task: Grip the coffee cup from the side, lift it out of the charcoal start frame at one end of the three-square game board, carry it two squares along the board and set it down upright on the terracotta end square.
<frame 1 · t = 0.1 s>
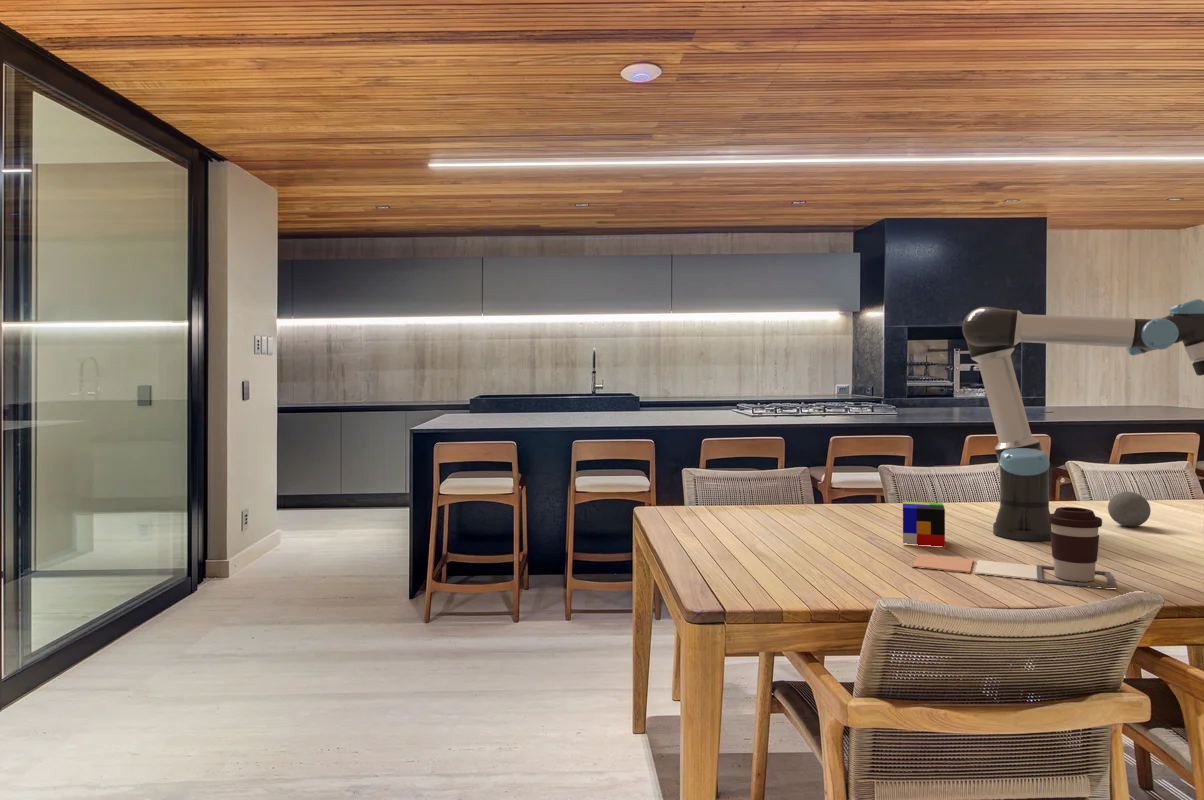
decorative ball: (1128, 527, 212), on the table
game board: (1006, 571, 167), on the table
puzzle toy: (923, 543, 196), on the table
coffee cup: (1074, 578, 160), resting in game board
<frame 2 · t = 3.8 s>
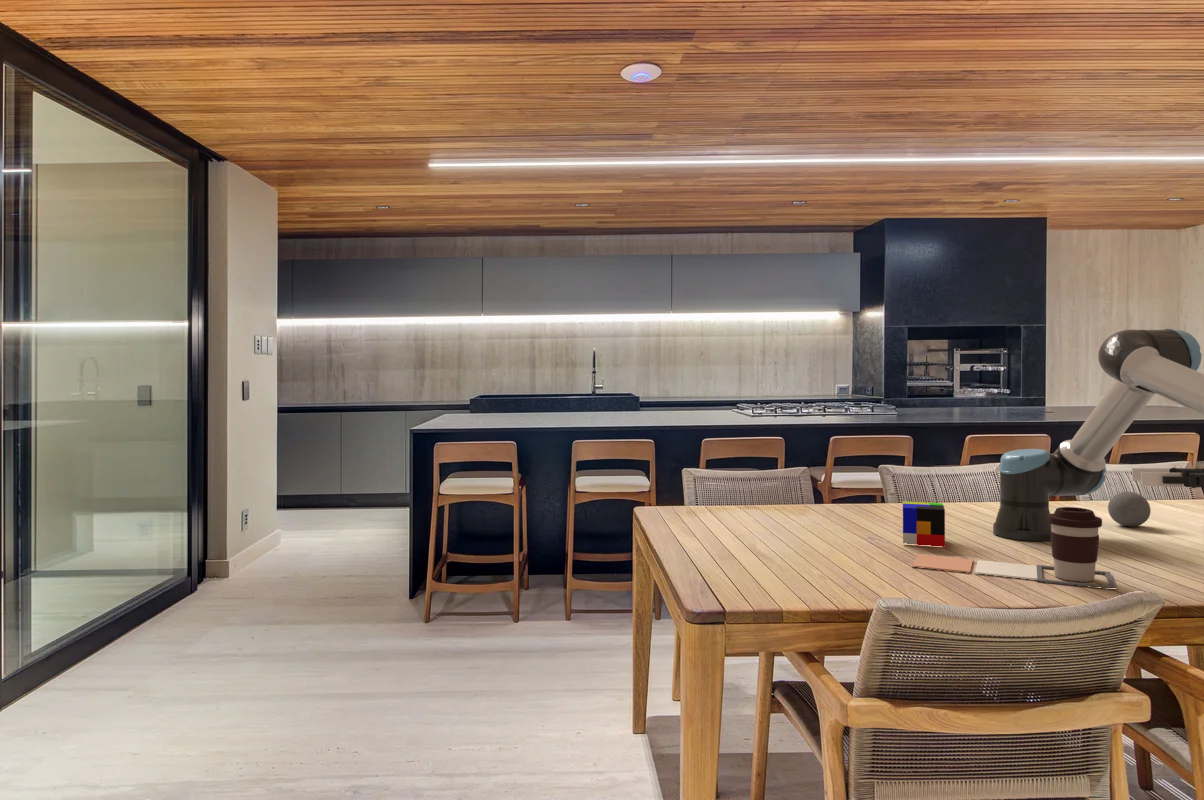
hand: (1136, 476, 156), 22 cm above the table, tool horizontal, fingers open, 13 cm apart
nothing on the table moved.
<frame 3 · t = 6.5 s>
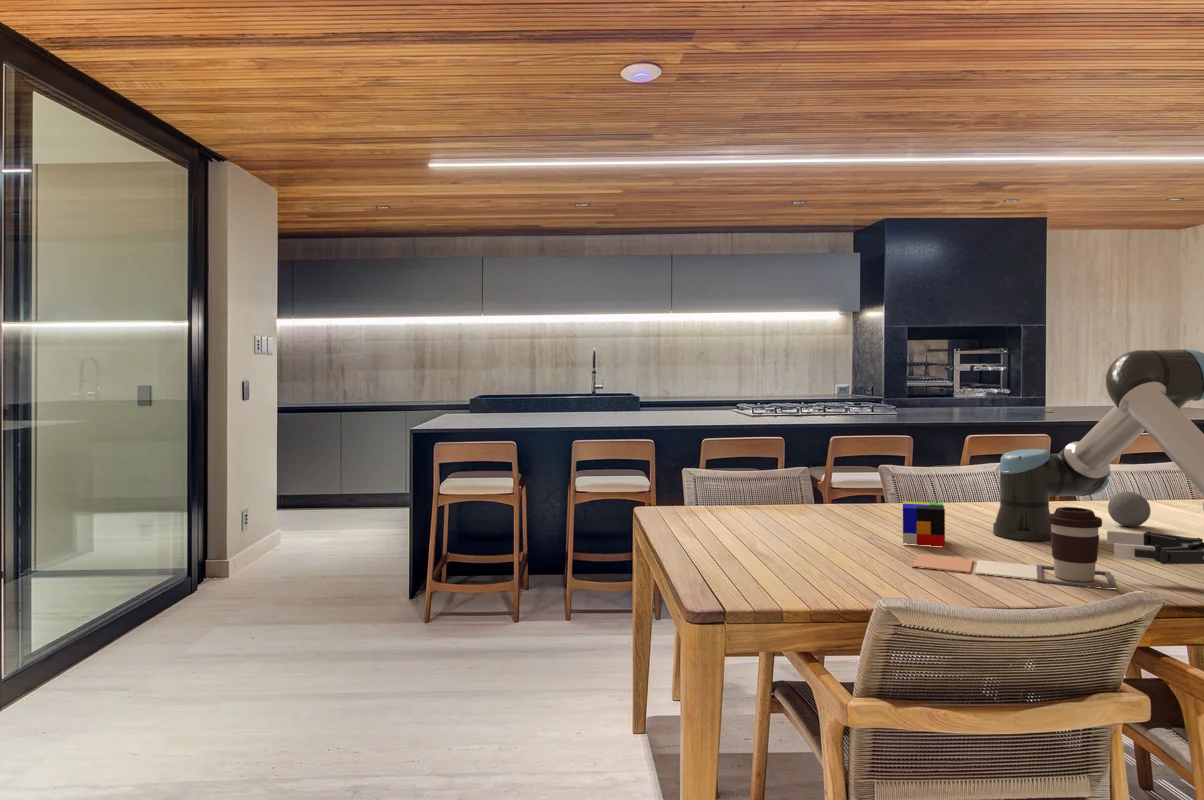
hand: (1110, 543, 156), 8 cm above the table, tool horizontal, fingers open, 13 cm apart
nothing on the table moved.
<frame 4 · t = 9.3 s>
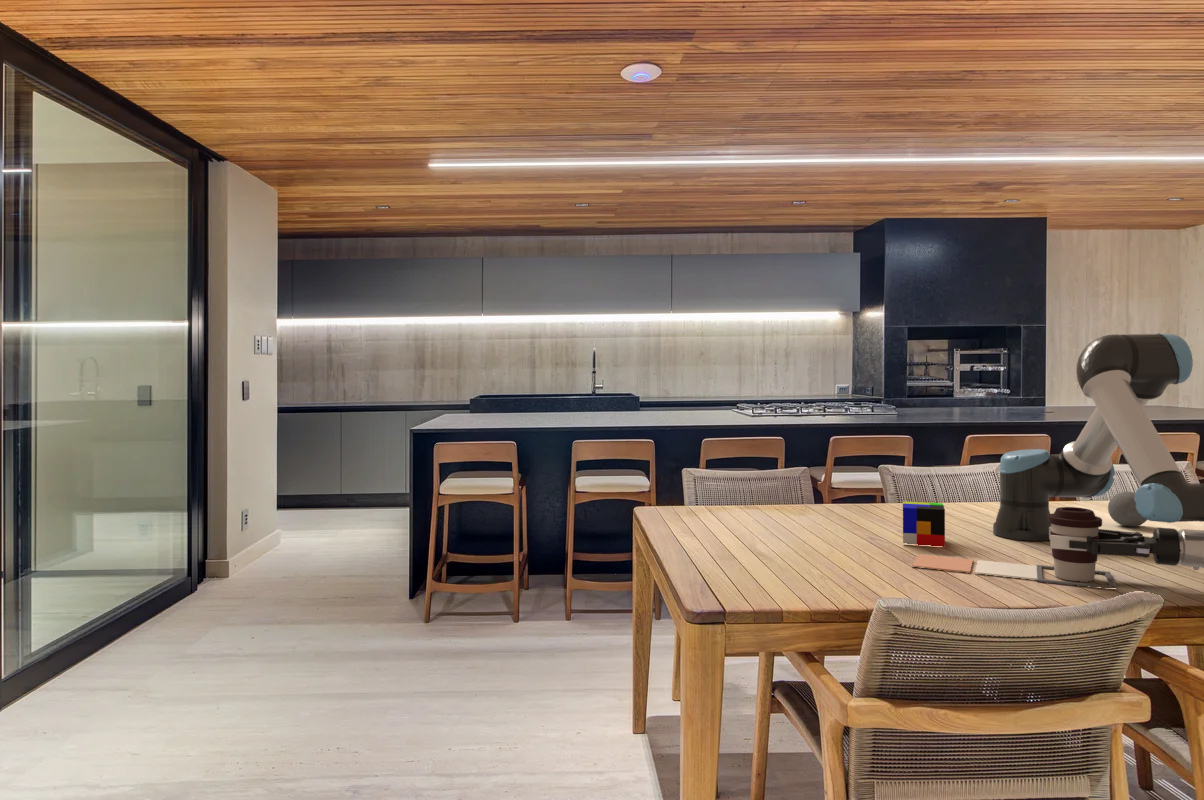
hand: (1049, 537, 162), 9 cm above the table, tool horizontal, fingers closed on coffee cup, 9 cm apart
coffee cup: (1074, 578, 160), resting in game board, touching gripper
everything else where it was.
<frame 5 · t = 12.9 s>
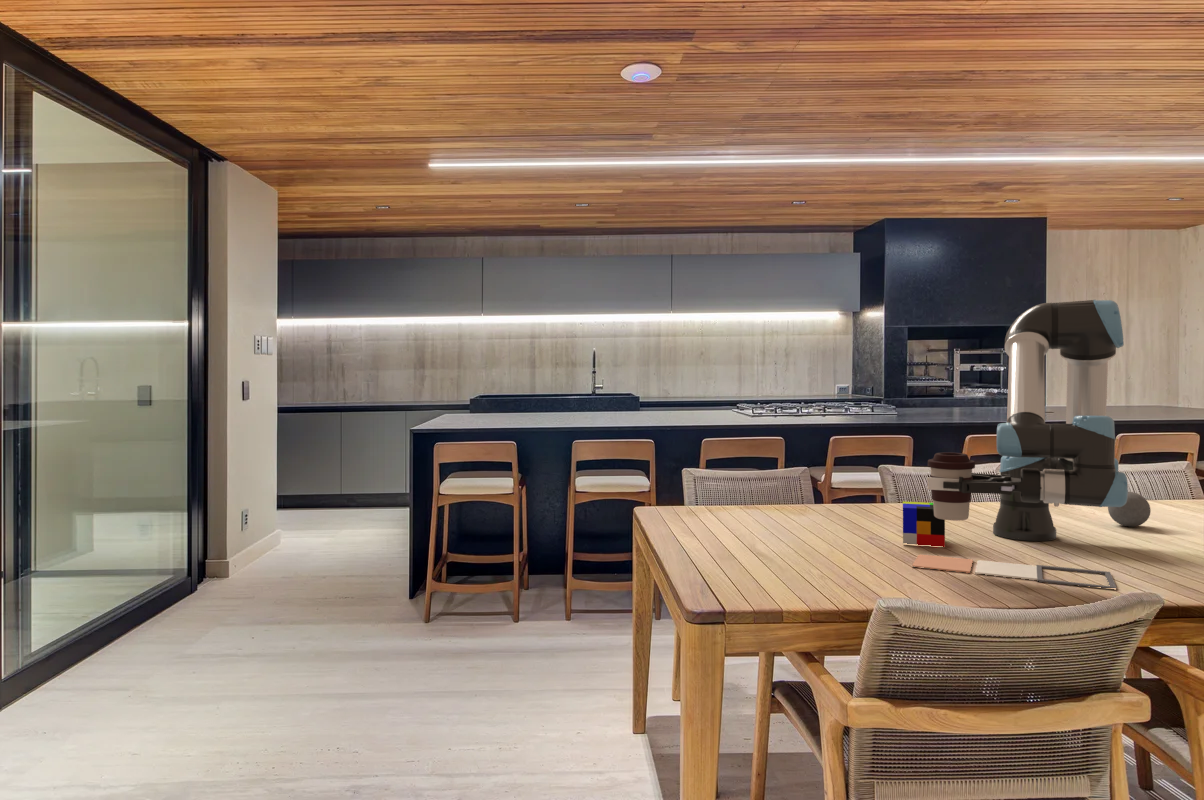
hand: (929, 480, 173), 20 cm above the table, tool horizontal, fingers closed on coffee cup, 9 cm apart
coffee cup: (951, 518, 171), point 11 cm above the table, touching gripper
everything else where it was.
when the fingers open (10 cm above the table, at t = 16.6 s): coffee cup moves 2 cm, resting on game board.
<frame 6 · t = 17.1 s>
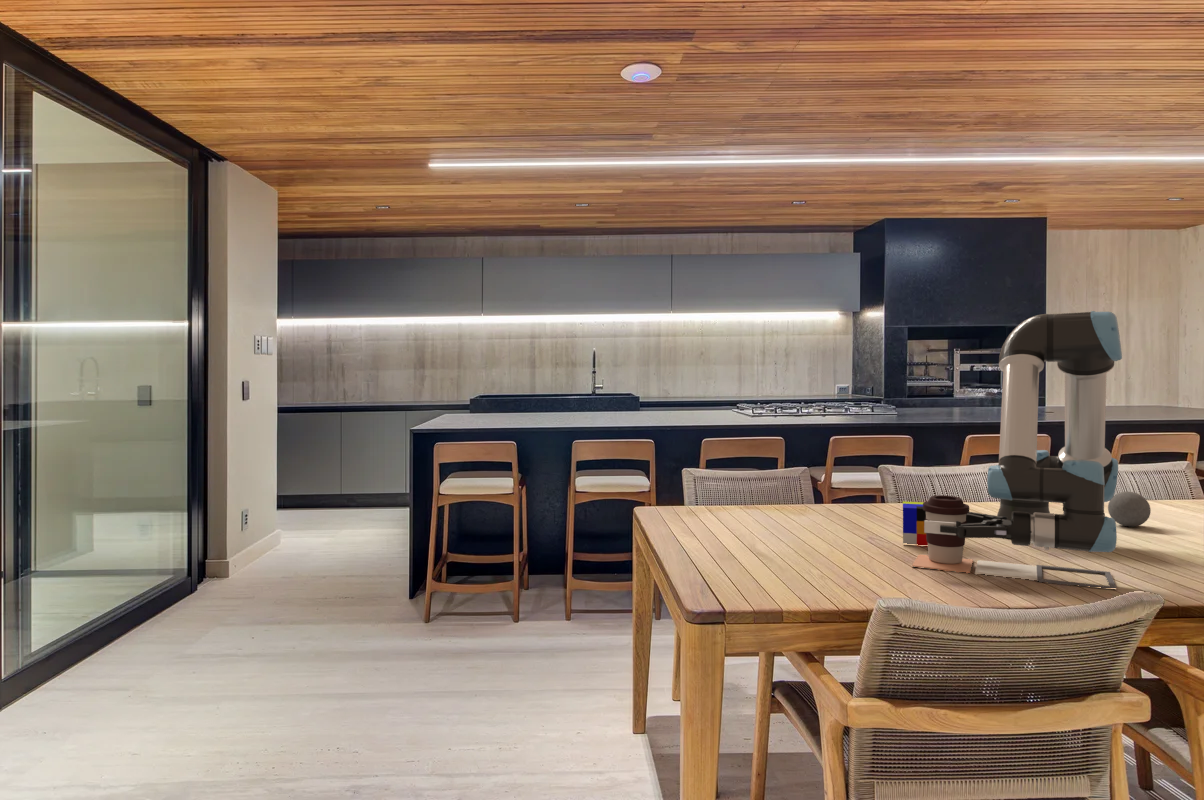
hand: (927, 521, 175), 10 cm above the table, tool horizontal, fingers open, 13 cm apart
coffee cup: (945, 561, 175), resting on game board, touching gripper
everything else where it was.
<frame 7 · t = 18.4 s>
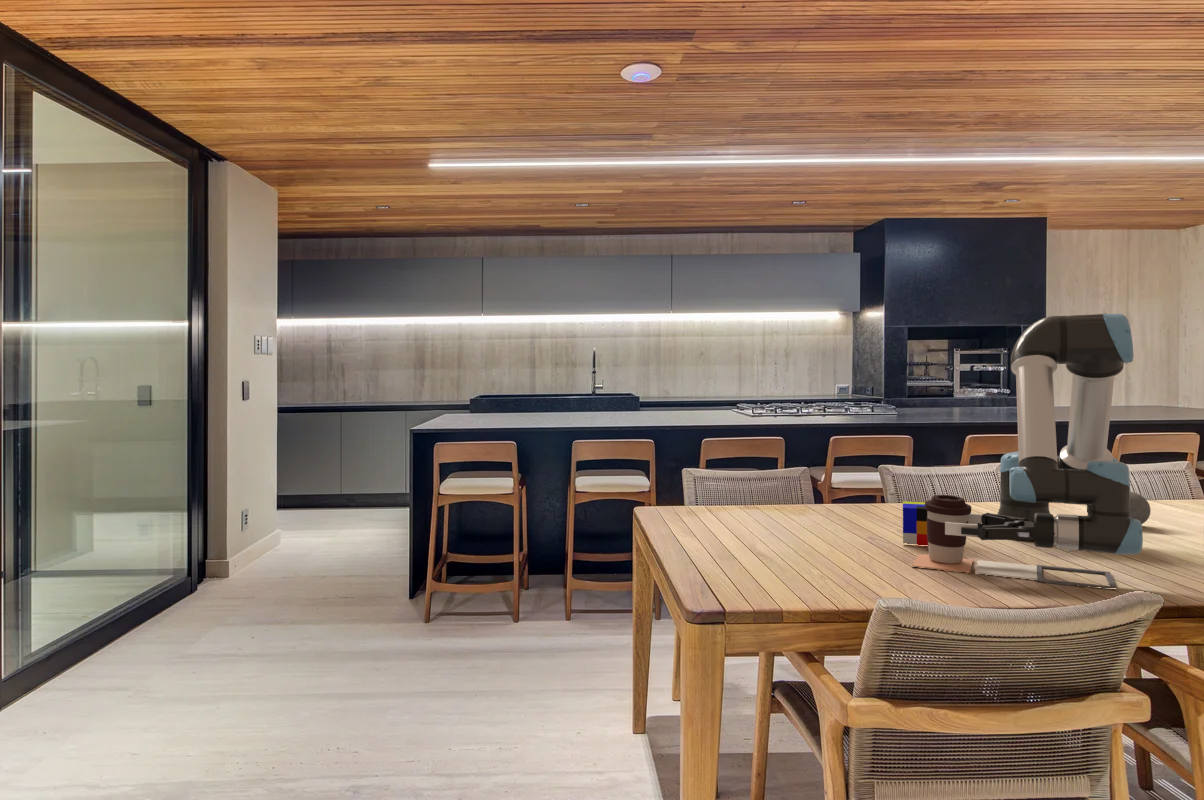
hand: (947, 522, 172), 10 cm above the table, tool horizontal, fingers open, 13 cm apart
nothing on the table moved.
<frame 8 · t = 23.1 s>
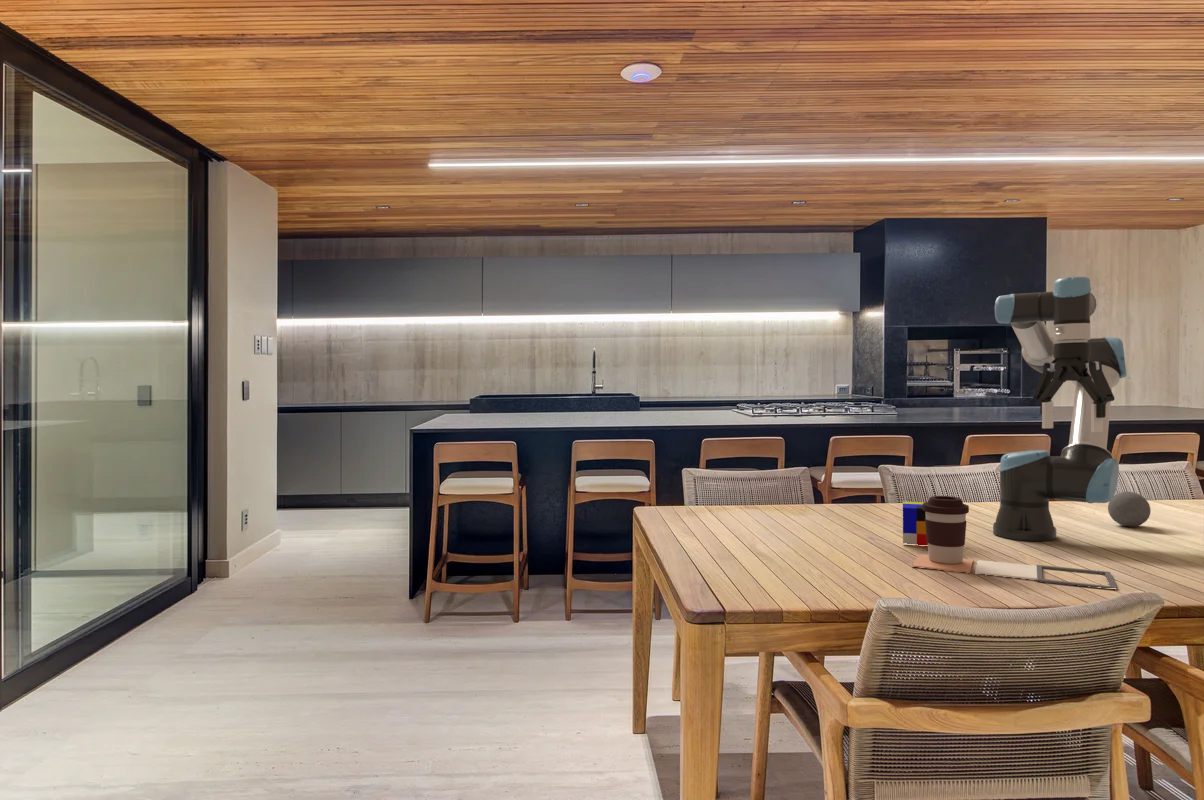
hand: (1071, 430, 178), 31 cm above the table, tool pointing down, fingers open, 13 cm apart
coffee cup: (945, 561, 175), resting on game board
everything else where it was.
at the end: coffee cup inside the target area (1.9 cm from its centre), resting on game board; coffee cup tilted 0°; the gripper is holding nothing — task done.
